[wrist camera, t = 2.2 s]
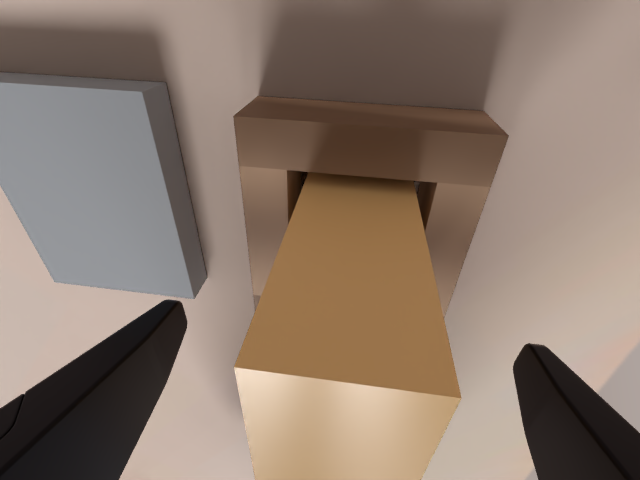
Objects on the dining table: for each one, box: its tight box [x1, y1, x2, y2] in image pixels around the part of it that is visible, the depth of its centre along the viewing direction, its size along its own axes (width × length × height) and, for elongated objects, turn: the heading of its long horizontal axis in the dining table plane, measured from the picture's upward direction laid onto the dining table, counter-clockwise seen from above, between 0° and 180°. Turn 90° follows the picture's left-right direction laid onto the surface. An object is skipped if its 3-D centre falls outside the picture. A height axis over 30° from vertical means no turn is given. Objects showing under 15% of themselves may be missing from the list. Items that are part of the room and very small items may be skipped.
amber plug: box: [234, 172, 461, 480], centre depth 10 cm, size 4×4×9 cm
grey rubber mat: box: [0, 72, 207, 299], centre depth 14 cm, size 9×7×2 cm
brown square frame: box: [234, 96, 508, 317], centre depth 13 cm, size 8×8×2 cm
